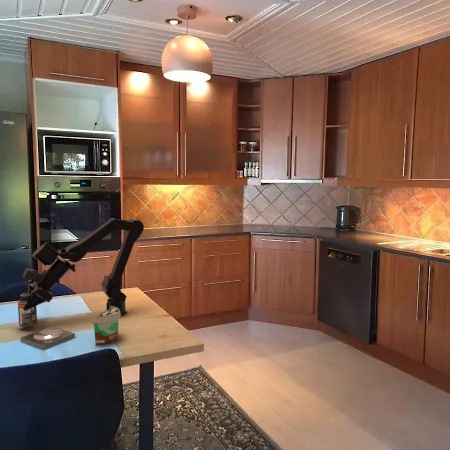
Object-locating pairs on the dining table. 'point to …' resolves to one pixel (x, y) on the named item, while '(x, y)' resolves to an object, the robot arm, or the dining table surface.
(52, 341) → the plate
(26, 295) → the supplement bottle
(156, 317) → the dining table surface
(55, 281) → the robot arm
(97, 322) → the food container
